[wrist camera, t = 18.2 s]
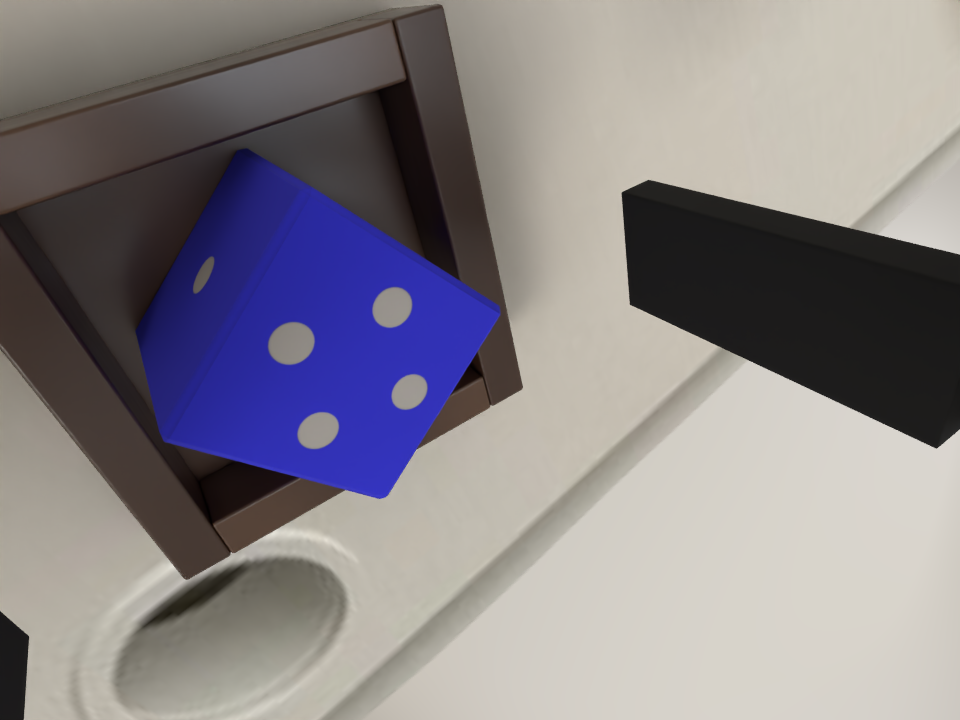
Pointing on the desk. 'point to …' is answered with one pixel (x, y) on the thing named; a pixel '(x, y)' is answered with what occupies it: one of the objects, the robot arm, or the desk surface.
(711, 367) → the desk surface
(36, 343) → the wooden tray
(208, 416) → the die
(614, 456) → the desk surface
